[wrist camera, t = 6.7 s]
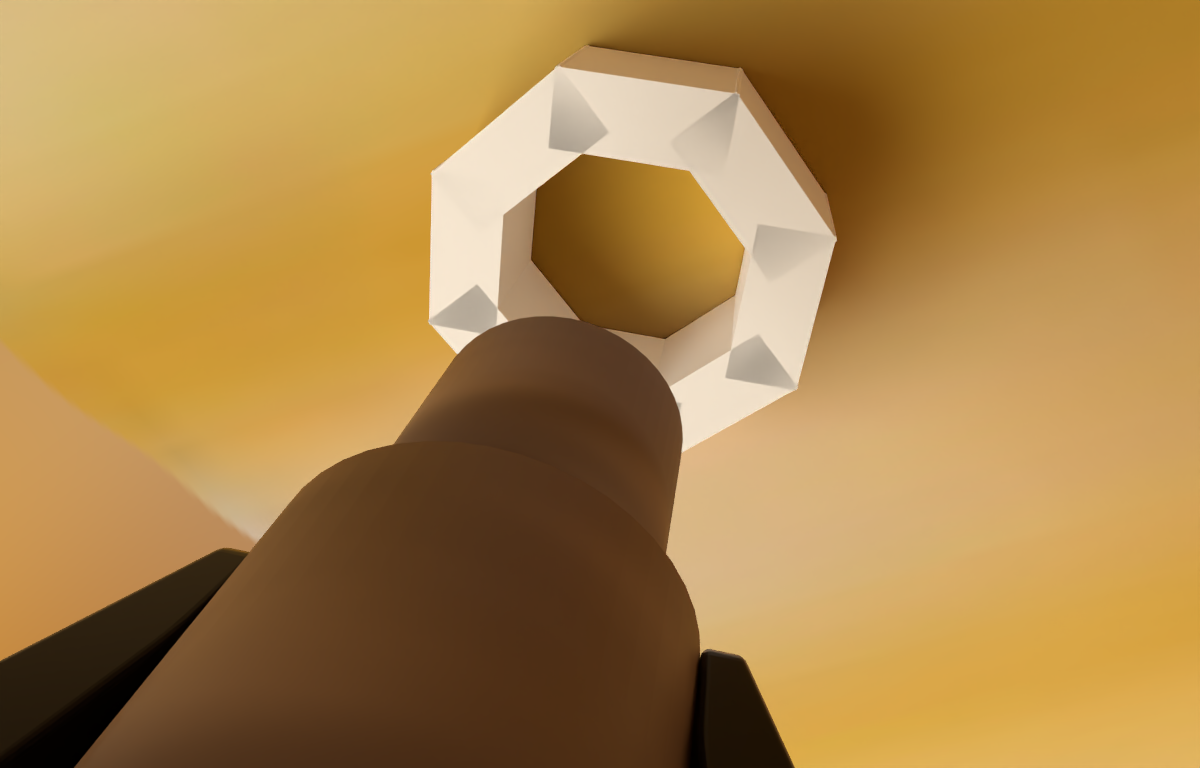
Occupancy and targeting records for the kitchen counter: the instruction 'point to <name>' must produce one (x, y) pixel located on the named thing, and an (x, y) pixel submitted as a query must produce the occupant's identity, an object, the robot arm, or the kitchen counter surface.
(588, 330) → the walnut peg
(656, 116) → the socket collar
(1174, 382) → the kitchen counter surface
